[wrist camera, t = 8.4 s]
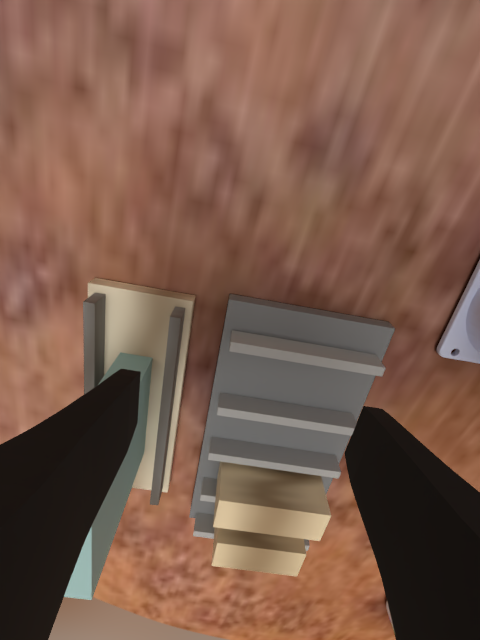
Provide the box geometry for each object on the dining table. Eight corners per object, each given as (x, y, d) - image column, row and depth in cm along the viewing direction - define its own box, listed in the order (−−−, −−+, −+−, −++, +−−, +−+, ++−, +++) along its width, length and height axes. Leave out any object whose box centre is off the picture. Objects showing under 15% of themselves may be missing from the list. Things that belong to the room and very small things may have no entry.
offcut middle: (317, 463, 24) (331, 515, 20) (308, 487, 25) (319, 541, 21) (223, 449, 24) (219, 500, 20) (217, 474, 25) (213, 527, 21)
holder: (195, 295, 20) (189, 311, 18) (170, 481, 26) (163, 510, 24) (95, 277, 20) (75, 291, 17) (94, 470, 26) (79, 499, 24)
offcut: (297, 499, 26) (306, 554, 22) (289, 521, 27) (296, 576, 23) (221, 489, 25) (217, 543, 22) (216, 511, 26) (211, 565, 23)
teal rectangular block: (144, 452, 24) (91, 599, 16) (116, 448, 24) (48, 595, 15) (152, 357, 21) (91, 480, 12) (120, 352, 20) (36, 473, 12)
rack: (388, 321, 20) (406, 340, 18) (307, 521, 28) (313, 552, 26) (229, 293, 20) (227, 309, 18) (191, 505, 27) (186, 536, 25)
